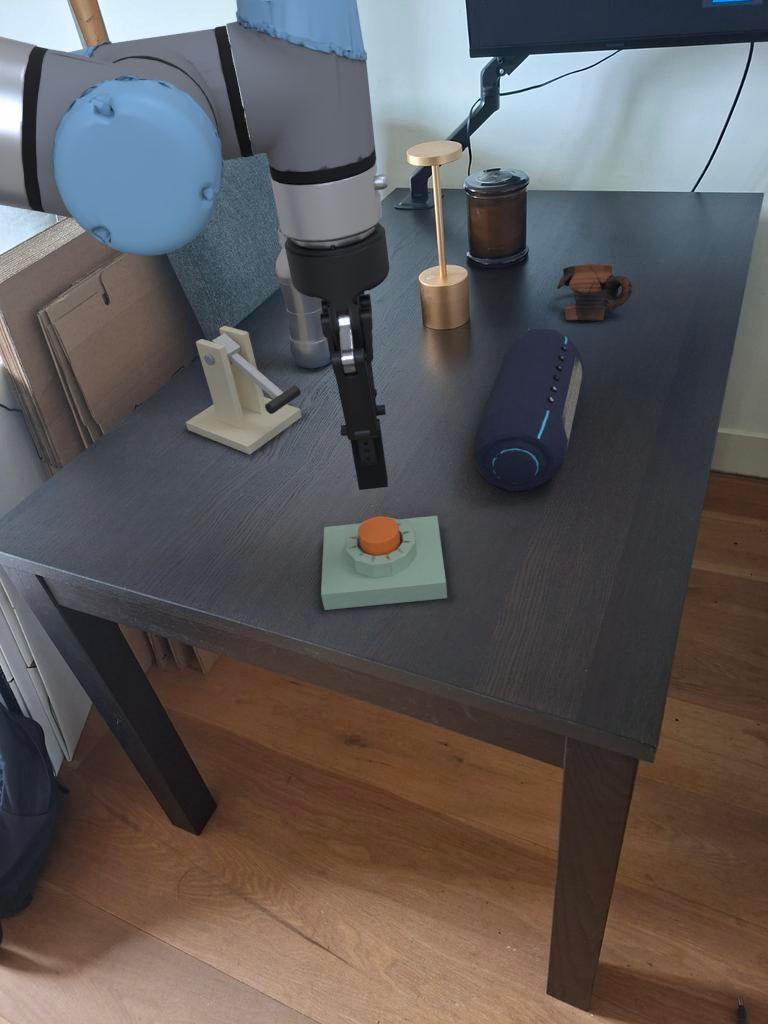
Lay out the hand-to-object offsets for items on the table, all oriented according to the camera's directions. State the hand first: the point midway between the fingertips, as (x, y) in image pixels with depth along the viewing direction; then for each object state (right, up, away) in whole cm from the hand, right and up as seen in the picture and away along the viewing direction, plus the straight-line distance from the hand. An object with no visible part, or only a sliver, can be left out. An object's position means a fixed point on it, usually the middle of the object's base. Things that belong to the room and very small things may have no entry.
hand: (373, 483), depth 71 cm
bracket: (-18, +9, +32) cm, 38 cm away
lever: (-16, +14, +25) cm, 33 cm away
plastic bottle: (-9, +19, +43) cm, 48 cm away
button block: (+1, -9, +7) cm, 11 cm away
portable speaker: (+19, +6, +22) cm, 29 cm away
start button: (+1, -6, +5) cm, 7 cm away
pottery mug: (+33, +28, +47) cm, 64 cm away
